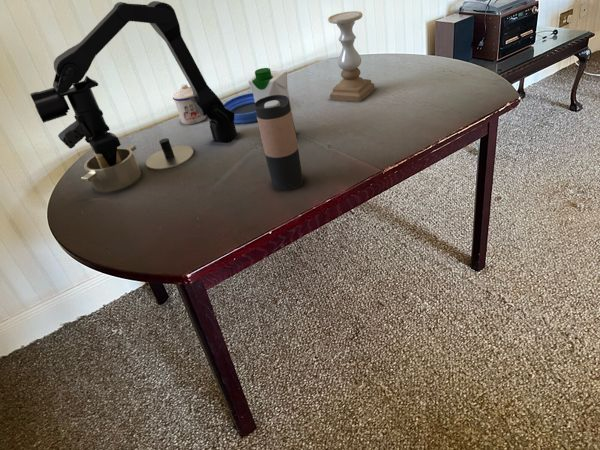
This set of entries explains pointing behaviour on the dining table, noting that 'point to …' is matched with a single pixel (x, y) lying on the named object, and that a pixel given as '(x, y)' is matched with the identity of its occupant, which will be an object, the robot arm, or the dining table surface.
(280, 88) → the milk carton
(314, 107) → the dining table surface
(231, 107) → the bowl
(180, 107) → the teacup with lid
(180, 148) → the lid
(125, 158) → the pot
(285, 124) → the travel mug
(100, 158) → the cube
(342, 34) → the candle holder
